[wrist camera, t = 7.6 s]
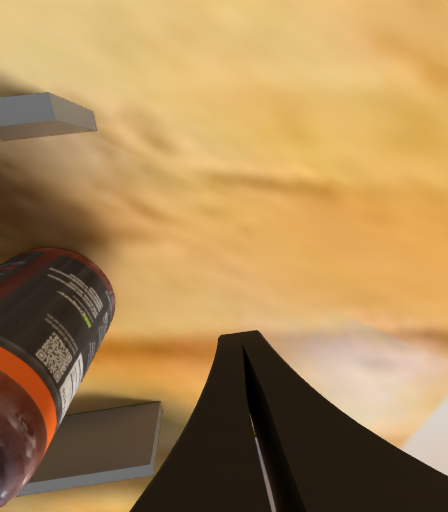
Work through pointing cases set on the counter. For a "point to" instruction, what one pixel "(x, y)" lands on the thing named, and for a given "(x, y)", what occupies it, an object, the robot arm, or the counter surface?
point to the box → (97, 422)
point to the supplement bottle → (44, 351)
